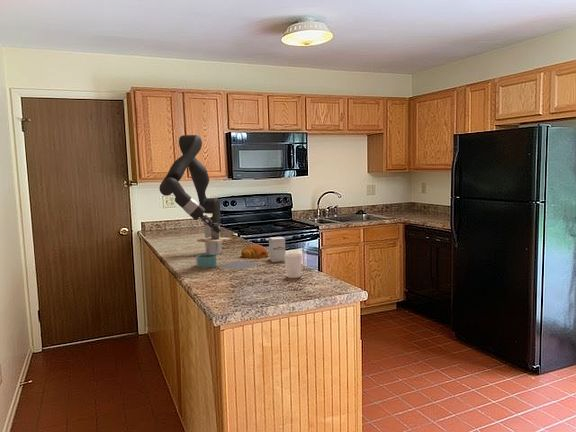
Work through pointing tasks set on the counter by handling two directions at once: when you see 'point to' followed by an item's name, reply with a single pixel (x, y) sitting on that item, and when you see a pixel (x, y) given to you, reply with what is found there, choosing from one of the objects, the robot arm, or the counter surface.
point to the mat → (239, 265)
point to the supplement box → (276, 249)
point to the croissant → (254, 252)
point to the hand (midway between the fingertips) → (218, 231)
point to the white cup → (293, 265)
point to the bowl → (206, 260)
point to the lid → (214, 237)
